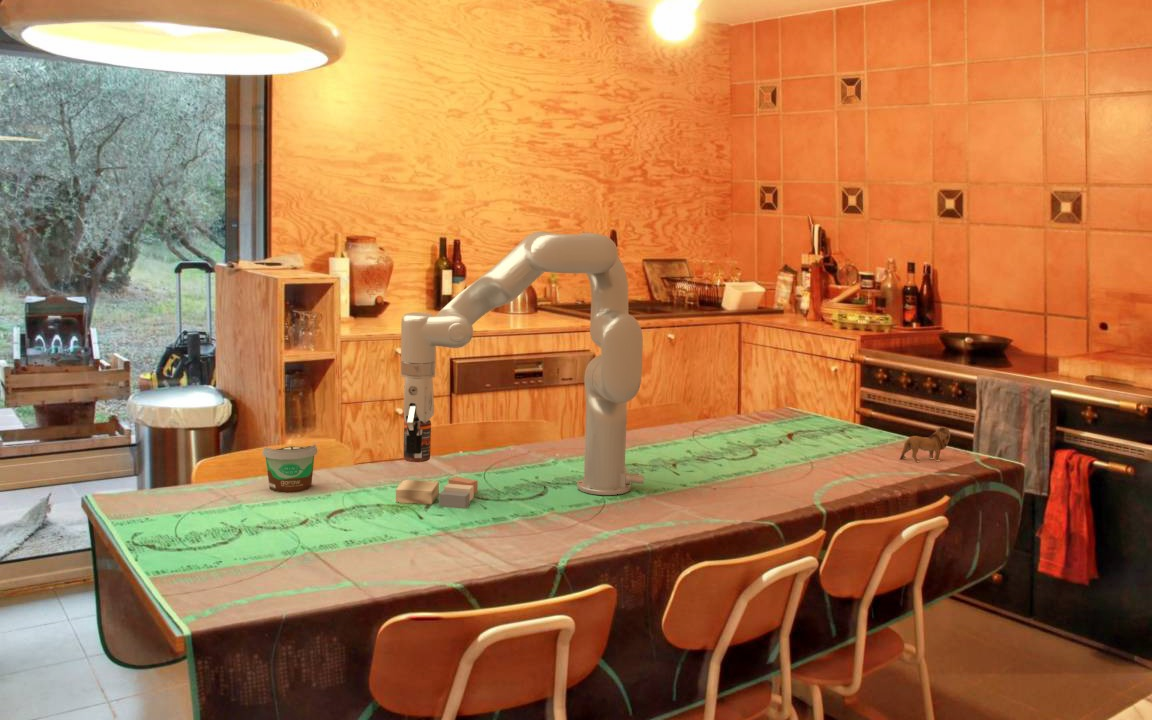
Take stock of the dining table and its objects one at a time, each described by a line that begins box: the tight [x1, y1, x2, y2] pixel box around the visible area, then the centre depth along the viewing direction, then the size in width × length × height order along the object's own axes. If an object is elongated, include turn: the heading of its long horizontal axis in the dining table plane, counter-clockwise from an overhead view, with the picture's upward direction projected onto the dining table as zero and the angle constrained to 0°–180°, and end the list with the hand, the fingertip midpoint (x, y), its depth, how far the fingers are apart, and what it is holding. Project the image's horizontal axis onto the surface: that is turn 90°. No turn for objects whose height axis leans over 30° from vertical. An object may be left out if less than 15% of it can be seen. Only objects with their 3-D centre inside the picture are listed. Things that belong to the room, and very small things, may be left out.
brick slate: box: [438, 489, 470, 510], centre depth 232 cm, size 6×3×3 cm, turn 78°
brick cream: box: [443, 483, 475, 503], centre depth 237 cm, size 6×3×3 cm, turn 78°
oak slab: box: [395, 479, 440, 505], centre depth 236 cm, size 8×8×3 cm
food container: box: [261, 441, 319, 494], centre depth 239 cm, size 12×6×10 cm, turn 117°
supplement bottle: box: [403, 419, 432, 463], centre depth 234 cm, size 6×6×11 cm
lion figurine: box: [899, 426, 951, 462], centre depth 284 cm, size 15×5×9 cm, turn 106°
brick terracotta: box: [448, 476, 479, 495], centre depth 242 cm, size 6×3×3 cm, turn 61°
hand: (417, 448), depth 234 cm, fingers closed on supplement bottle, 6 cm apart
